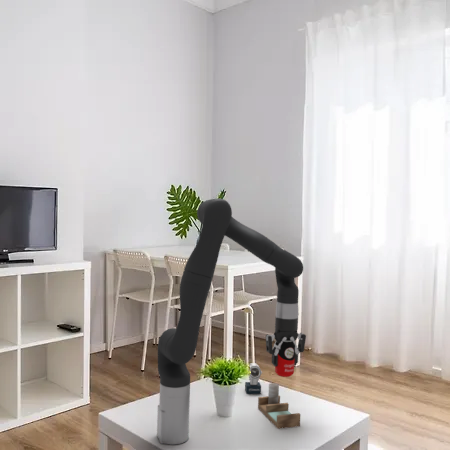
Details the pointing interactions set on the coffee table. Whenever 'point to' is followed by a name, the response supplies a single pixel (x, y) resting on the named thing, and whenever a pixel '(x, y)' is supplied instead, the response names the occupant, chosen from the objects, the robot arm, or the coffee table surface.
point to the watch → (253, 380)
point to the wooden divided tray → (277, 409)
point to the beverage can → (286, 359)
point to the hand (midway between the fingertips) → (284, 365)
